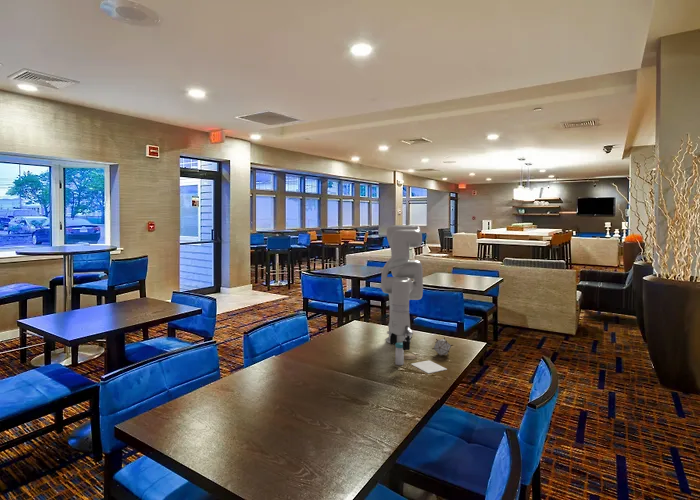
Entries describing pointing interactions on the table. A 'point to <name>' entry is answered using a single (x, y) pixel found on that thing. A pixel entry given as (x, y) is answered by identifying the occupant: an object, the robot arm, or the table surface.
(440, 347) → the game die
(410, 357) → the disc
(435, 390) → the table surface
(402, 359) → the marker
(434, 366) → the paper
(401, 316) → the robot arm
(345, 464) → the table surface
